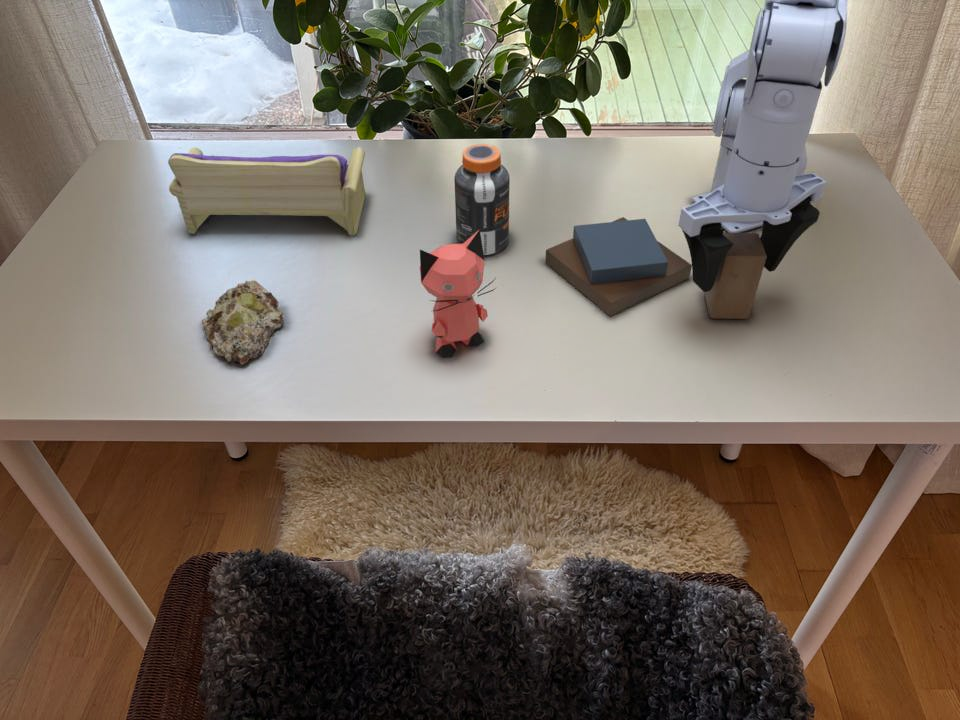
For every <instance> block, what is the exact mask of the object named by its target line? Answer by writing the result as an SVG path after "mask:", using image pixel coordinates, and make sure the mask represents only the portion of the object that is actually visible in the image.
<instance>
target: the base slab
mask: <svg viewBox="0 0 960 720" xmlns="http://www.w3.org/2000/svg"><path fill="white" fill-rule="evenodd" d="M627 220H628V218H625V217H624V216H622V217H620V218H618V219H615V220H613V221H612V222H617V221H627ZM657 242H658V244H659V246H660V247H661V249H662V251H663V253H664V255H665V257H666V259H667V261H668V266H667V272H666V276H660V277H651V278H642V279H633V280H623V281H614V282H605V283H596V284H590V281H589V279H588V276H587V273H586V271H585V268H584V266H583V263H582V261H581V258H580V256H579V253H578V251H577V248H576V246H575V243H574V241H573V237H572V238H570V239H568V240H566V241H563V242H561V243H558V244H556V245H554V246H552V247H549V248H547V249H545V261H544V262H545V264H546V265H547V266H549V267H550V268H551V269H552V270H553V271H555V272H556V273H557V274H558V275H559V276H560V277H562V278H563V279H564V280H565V281H566V282H568V283H569V284H570V285H571V286H572V287H574V289H576V290H577V291H579V292H580V293H581V294H582V295H584V296H585V297H586V298H587V299H588V300H589V301H591V303H593V304H594V305H596V306H597V307H598V308H599V309H600V310H601V311H603V312H604V313H605V314H606V315H608V316H609V317H612V316H615V315H616V314H619V313H621V312H623V311H625V310H626V309H629V308H631V307H633V306H635V305H637V304H640V303H642V302H643V301H646V300H648V299H650V298H652V297H653V296H656V295H658V294H660V293H662V292H664V291H666V290H668V289H671V288H672V287H674V286H676V285H679V284H680V283H683V282H685V281H687V280H689V279H690V277H691V272H692V263H690V262H688V261H687V260H685V259H684V258H683V257H682V256H680V255H679V254H677V253H675V251H672V249H670V248H668V247H667V246H665V245H664V244H663V243H661V242H660V241H659V240H657Z"/></svg>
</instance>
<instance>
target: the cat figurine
mask: <svg viewBox="0 0 960 720" xmlns="http://www.w3.org/2000/svg"><path fill="white" fill-rule="evenodd" d="M419 260H420V261H419V262H420V263H419V264H420V265H419V273H420V283H421V285H422V287H424V289H425V290H426V292H427V293H428V294H430V295H432V296H433V297H435V298H436V299H435V300H433V299H431V300H428V301H429V302H435V303H434V305H433V308H432V313H433V323H432V325H431V332H432V334H433V336H434V337H437V338H436V341H435V354H437V355H438V356H439V357H441V358H443V359H445V358H452V357H453V356H454V355H455V353H456V351H457V347H456V344H455V342H460V341H461V342H462V343H463V344H465V345H466V346H470V347H479V346H481V345H483V343H485V341H484V337H483V334H482V333H480V332H479V331H480V321H481V322H485V320H486V319H488V317H489V315H488V310H487V308H485V307H484V305H483V304H480V303H476V301H475V299H474V296H477V297H480V296H482V295H485V294H489V293H491V292H493V291H495V290H496V289H497V288H498V286H496V287H494V288H493V289H491V290H488V291H485V292H483V293H481V292H482V291H484V290H485V289H486V288H487V287H488V286H490V285H491V284H492V283H494V281H495V280H496V278H494V279H493V280H492V281H491V282H489V283H488V284H486V285H485V286H484V287H483V288H481V289H480V287H481V286H482V284H483V281H484V271H485V262H486V260H485V255H484V253H483V247H482V241H481V235H480V230H478V231H477V232H476V233H475V234H474V235H473V236H471V237H470V238H469V239H468V240H467V241H465V242H464V243H463V244H458V243H449V244H444V245H441V246H438V247H437V248H435V249H434V250H433V251H431V252H427V251H424V250H422V249H419ZM479 289H480V290H479ZM475 293H476V294H477V295H476V294H475Z"/></svg>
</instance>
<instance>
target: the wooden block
mask: <svg viewBox="0 0 960 720" xmlns="http://www.w3.org/2000/svg"><path fill="white" fill-rule="evenodd" d="M723 235H724V236H725V237H726V238H728V239H729V240H730V241H731V242H732V243H733V244H734V245H733V246H732V247H731V248H730V250H729V251H728V252H727V254H726V255H725V257H724V259H723V260H722V263H721V265H720V267H719V270H718V273H717V277H716V280H715V283H714V285H713V287H712V289H711V291H707V292H703V295H704V300H705V303H706V307H707V311H708V315H709V317H710V318H711V319H722V320H723V319H725V320H726V319H727V320H728V319H730V320H747V319H749V317H750V315H751V312H752V309H753V305H754V303H755V298H756V294H757V291H758V288H759V284H760V281H761V278H762V275H763V271H764V269H765V267H764V264H765V261H766V258H767V256H766V253H765V250H764V247H763V245H762V242H761V239H760V238H761V236H760V234H758V233H757V232H739V233H729V232H723Z"/></svg>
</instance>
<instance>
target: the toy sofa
mask: <svg viewBox="0 0 960 720" xmlns="http://www.w3.org/2000/svg"><path fill="white" fill-rule="evenodd" d="M365 156H366V153H365V150H364V149H363V148H362V147H359V146H358V147H354V148H353V149H352V151H351V154H350V156H349V157H350V158H349V161H348V159H347V158H345V157H344V156H343V155H339V154H312V155H300V156H297V155H296V156H291V155H272V156H261V157H251V156H249V157H248V156H247V157H245V156H230V155H229V156H228V155H204V153H203V151H202V150H201V149H200V148H198V147H195V146H194V147H191V148H190V149H189V151H188V152H187V153H183V152H175V153H172V154H171V155H170V156H169V158H168V162H167V164H168V166H169V168H170V170H171V172H172V173H173V175H174V177H173V179H172V180H171V182H170V184H169V186H168V191H169V193H170V194H171V195H172V196H174V197H176V199H177V202H178V206H179V208H180V212H181V214H182V217H183V221H184V224H185V227H186V231H187V233H188V234H191V235H193V234H196V233H197V231H198V230H199V228H200V227H201V226H202V225H203V223H204V222H205V221H207V218H209V216H211V215H212V216H214V215H215V216H225V215H226V216H235V215H236V216H307V217H308V216H309V217H310V216H312V217H313V216H314V217H327V218H329V219H330V220H332V221H333V222H335V223H336V224H337V225H339V226H340V227H341V228H343V229H344V230H345V231H346V232H347V234H348V235H349V236H350V237H355V236H356V235H357V233H358V231H359V227H360V222H361V219H362V214H363V209H364V204H365V199H366V189H365V183H364V178H363V176H364V175H363V171H362V170H363V164H364V161H365Z"/></svg>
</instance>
